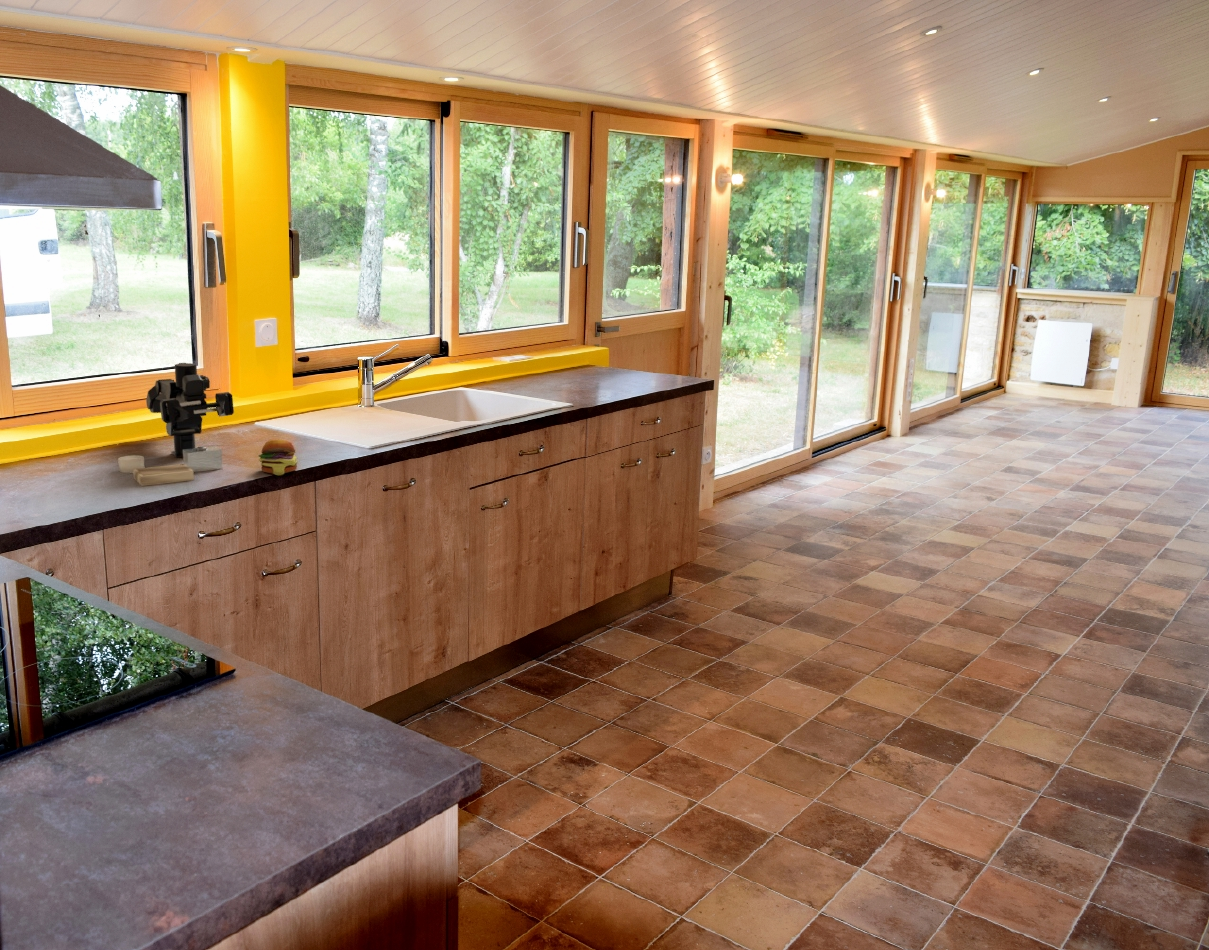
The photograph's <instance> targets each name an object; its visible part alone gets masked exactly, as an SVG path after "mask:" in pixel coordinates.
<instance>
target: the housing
mask: <svg viewBox="0 0 1209 950" xmlns="http://www.w3.org/2000/svg"><path fill="white" fill-rule="evenodd" d="M222 453H223V451H222V449H221V448H220V447H219V446H217V445H215V446H213V445H212V446H198V447H195V448H193V449H184V450H183V457H182V459H183V464H185V465H187V466H188V467H189V468H190V469H192V470H193V473H195V472H205V471H211V470H212V471H214V470H222V469H224V468H223V454H222Z"/></svg>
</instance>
